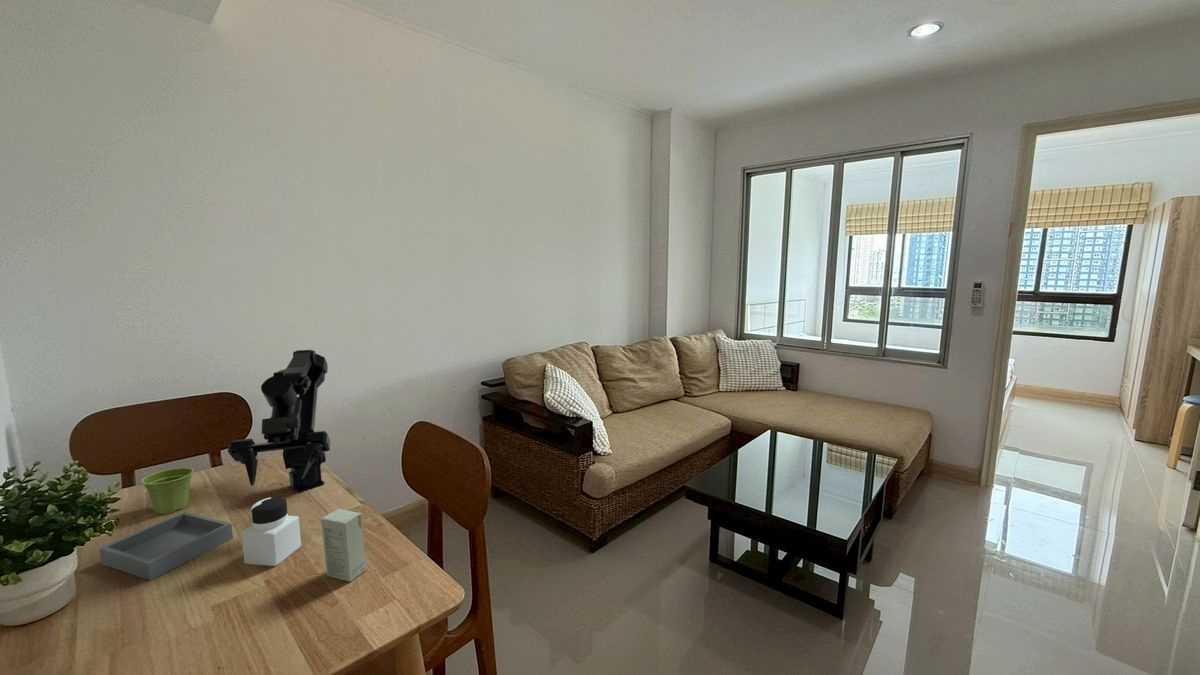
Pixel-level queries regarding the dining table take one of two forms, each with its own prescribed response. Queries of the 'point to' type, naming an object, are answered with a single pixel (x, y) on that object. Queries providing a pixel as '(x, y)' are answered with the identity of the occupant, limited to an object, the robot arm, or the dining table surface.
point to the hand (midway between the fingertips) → (277, 481)
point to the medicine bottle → (270, 533)
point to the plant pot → (169, 489)
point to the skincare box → (344, 544)
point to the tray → (165, 545)
